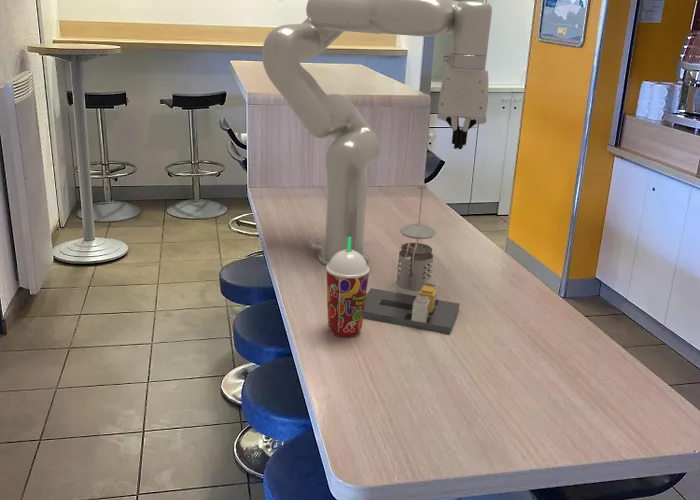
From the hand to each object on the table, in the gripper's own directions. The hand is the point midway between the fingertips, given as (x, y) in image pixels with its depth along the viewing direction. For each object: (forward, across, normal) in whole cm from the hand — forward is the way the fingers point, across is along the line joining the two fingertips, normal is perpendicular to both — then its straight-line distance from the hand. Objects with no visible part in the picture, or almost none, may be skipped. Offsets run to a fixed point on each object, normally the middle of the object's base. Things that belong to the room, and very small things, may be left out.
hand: (458, 147), depth 150 cm
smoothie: (+32, -14, -34) cm, 49 cm away
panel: (+32, -4, -21) cm, 39 cm away
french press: (+32, -6, -8) cm, 34 cm away
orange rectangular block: (+30, 0, -21) cm, 37 cm away
